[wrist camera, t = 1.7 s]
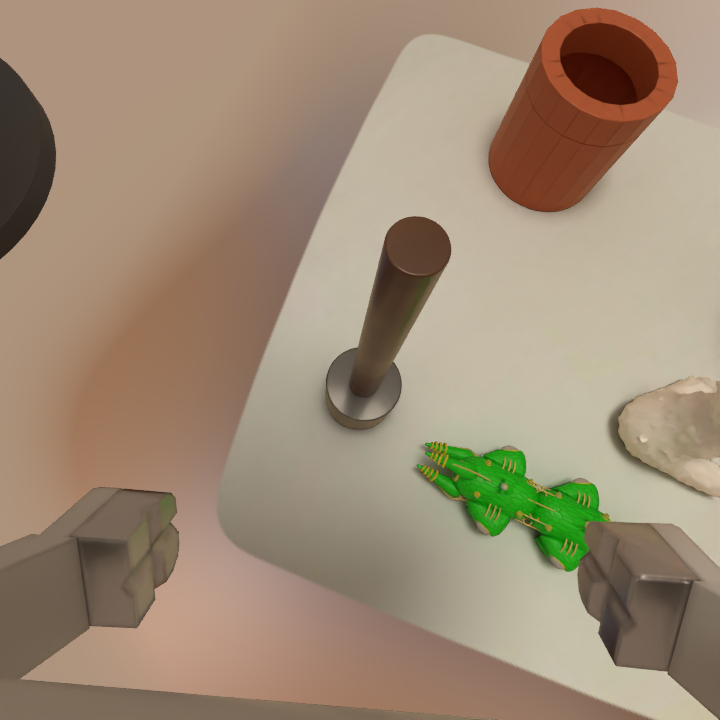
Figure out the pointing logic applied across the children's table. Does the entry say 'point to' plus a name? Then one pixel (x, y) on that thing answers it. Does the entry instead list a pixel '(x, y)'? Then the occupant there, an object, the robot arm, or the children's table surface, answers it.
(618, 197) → the children's table surface
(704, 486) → the sitting furry creature
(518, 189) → the terracotta flower pot
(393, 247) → the rod on round base
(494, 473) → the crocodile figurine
